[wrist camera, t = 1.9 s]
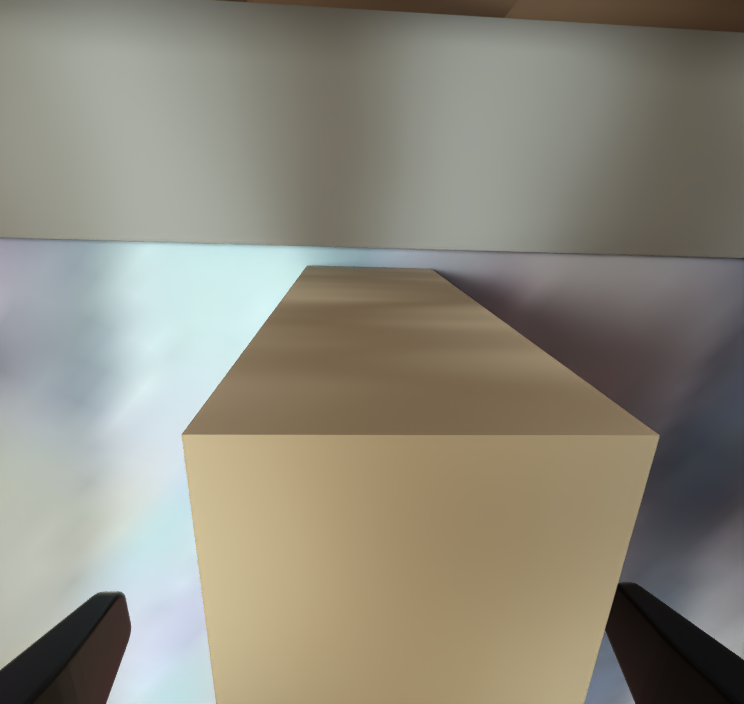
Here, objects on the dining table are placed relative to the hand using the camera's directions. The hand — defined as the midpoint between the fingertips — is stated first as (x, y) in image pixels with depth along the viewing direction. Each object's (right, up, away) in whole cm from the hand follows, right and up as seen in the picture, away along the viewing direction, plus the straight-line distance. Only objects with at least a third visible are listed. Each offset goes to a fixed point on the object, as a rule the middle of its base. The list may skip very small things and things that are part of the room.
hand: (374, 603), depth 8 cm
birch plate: (0, +1, +4) cm, 4 cm away
